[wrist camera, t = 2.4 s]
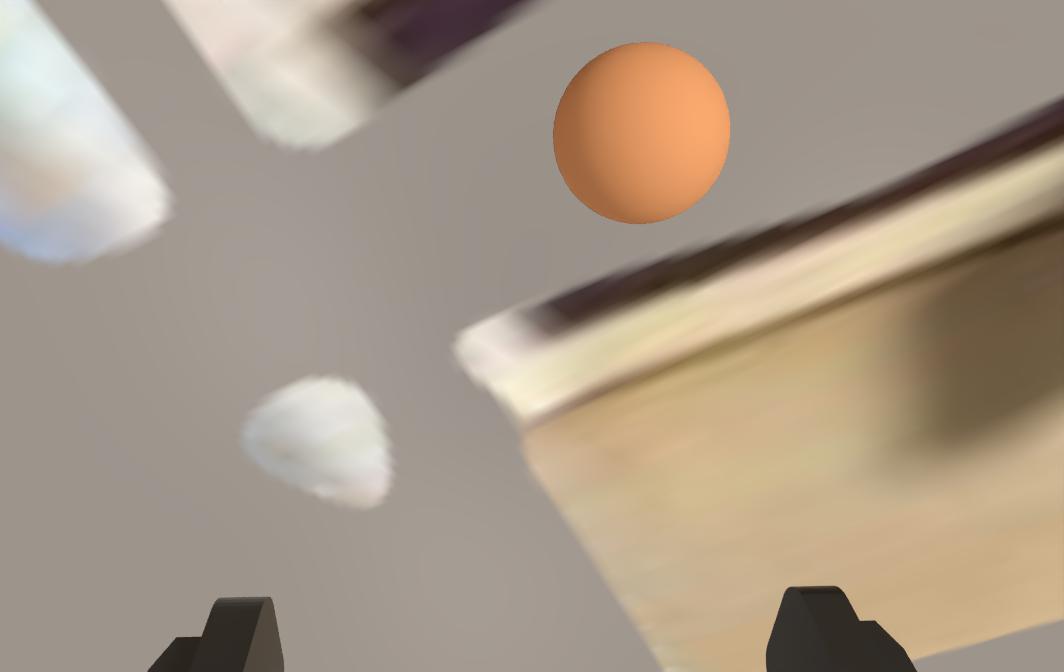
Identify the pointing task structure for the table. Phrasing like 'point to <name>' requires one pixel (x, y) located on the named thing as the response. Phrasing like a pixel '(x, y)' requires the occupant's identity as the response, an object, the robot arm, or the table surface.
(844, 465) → the table surface
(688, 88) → the ball
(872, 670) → the robot arm
